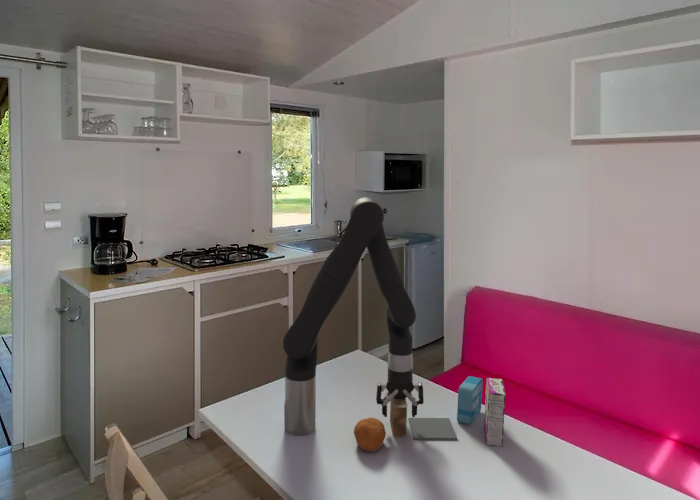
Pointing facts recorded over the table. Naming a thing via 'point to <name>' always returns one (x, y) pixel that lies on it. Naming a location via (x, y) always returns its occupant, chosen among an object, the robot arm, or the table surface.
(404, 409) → the slab
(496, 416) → the candy bar box
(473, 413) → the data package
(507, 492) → the table surface
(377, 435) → the potato
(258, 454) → the table surface
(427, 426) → the mat
